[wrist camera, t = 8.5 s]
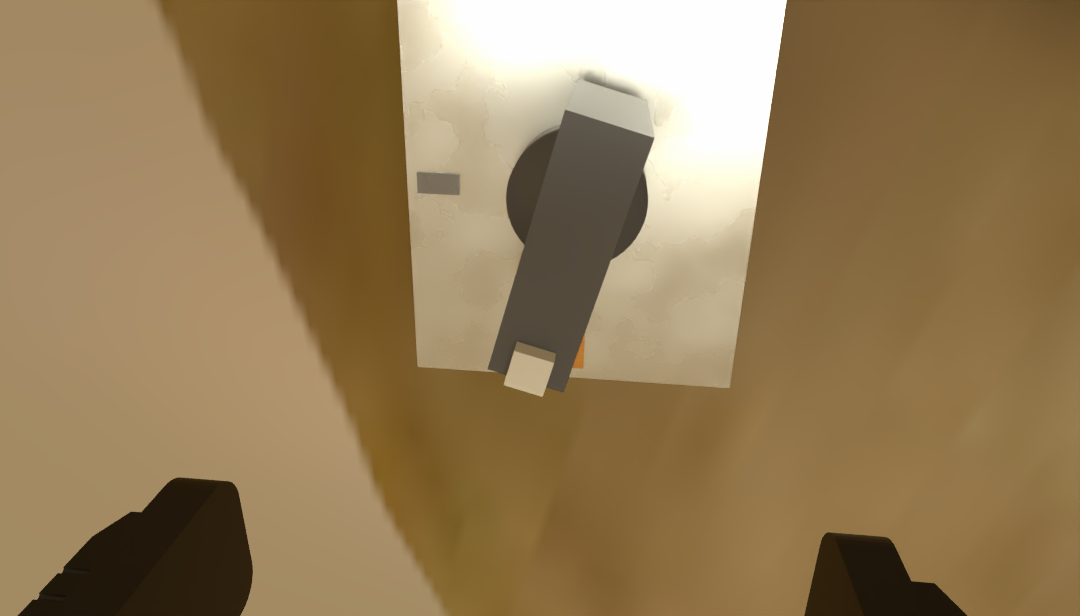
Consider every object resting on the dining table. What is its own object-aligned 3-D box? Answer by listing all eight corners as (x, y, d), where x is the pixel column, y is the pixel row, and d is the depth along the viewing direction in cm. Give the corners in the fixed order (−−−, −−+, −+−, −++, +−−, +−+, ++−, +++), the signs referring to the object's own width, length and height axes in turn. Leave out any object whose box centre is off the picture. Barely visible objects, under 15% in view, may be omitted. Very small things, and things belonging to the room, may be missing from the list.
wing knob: (544, 61, 26) (512, 97, 18) (681, 105, 26) (705, 158, 18) (487, 266, 29) (441, 366, 22) (608, 303, 29) (604, 415, 22)
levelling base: (784, -108, 25) (823, -128, 20) (720, 353, 33) (737, 421, 28) (413, -113, 27) (365, -133, 22) (434, 335, 34) (401, 397, 29)
